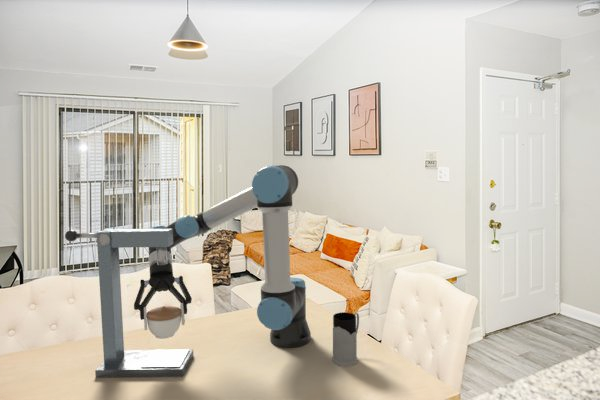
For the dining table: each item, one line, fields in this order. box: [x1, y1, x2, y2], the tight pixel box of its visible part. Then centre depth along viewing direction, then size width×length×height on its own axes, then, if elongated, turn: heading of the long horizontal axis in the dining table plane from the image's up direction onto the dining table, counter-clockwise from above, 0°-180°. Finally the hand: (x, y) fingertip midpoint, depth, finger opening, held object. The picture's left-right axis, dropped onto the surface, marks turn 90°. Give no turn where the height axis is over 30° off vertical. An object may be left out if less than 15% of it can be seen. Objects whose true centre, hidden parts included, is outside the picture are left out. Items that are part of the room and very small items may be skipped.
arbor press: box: [64, 228, 194, 379], centre depth 139 cm, size 37×14×45 cm, turn 90°
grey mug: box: [331, 311, 360, 367], centre depth 146 cm, size 9×14×15 cm, turn 145°
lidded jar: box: [146, 305, 182, 339], centre depth 140 cm, size 11×11×9 cm
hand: (164, 325), depth 137 cm, fingers closed on lidded jar, 11 cm apart
